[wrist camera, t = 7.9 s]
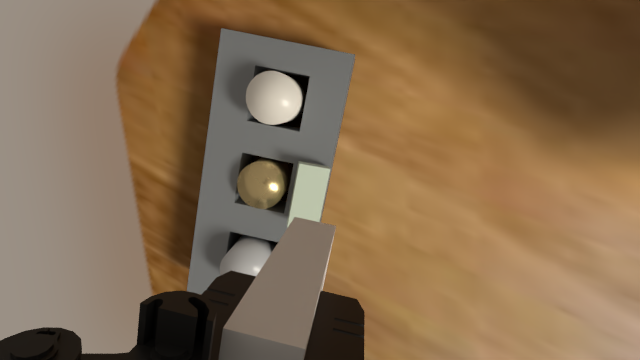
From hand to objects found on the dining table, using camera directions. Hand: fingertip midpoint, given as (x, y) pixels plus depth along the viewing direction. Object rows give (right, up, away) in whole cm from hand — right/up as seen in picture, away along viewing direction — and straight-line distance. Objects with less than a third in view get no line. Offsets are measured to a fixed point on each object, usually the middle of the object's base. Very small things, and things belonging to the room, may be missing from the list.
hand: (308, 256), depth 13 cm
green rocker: (-1, +1, +21) cm, 21 cm away
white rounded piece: (-3, +11, +22) cm, 25 cm away
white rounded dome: (-6, -5, +25) cm, 27 cm away
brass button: (-5, +3, +25) cm, 26 cm away
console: (-5, +3, +25) cm, 26 cm away
